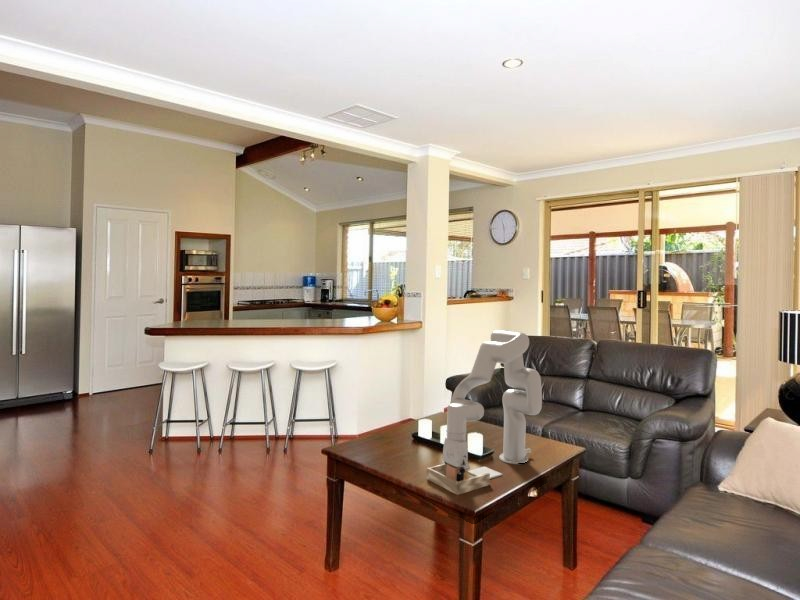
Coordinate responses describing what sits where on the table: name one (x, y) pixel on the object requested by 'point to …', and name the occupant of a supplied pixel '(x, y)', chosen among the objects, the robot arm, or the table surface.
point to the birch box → (455, 480)
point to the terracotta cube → (451, 471)
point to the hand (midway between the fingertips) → (455, 480)
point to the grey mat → (484, 472)
